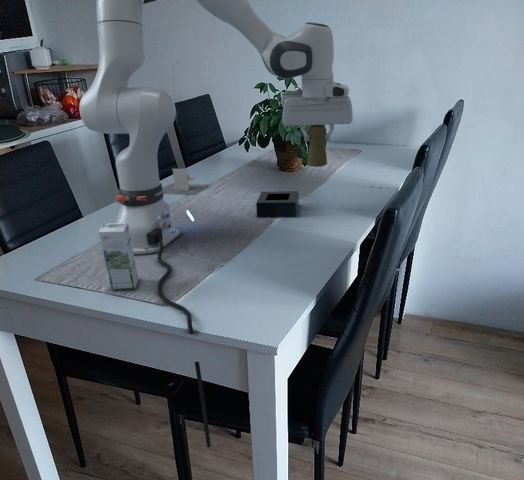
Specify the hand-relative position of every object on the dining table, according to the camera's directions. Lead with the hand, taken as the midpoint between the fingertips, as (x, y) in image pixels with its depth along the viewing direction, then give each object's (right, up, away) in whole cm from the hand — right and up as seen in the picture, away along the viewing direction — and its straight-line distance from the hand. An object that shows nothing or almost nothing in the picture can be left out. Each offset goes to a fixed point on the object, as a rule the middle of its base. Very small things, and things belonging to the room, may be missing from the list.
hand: (317, 141), depth 160 cm
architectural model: (-45, -3, +39) cm, 60 cm away
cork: (0, -6, +4) cm, 7 cm away
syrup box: (-49, -46, -31) cm, 74 cm away
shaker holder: (-11, -18, +11) cm, 24 cm away
